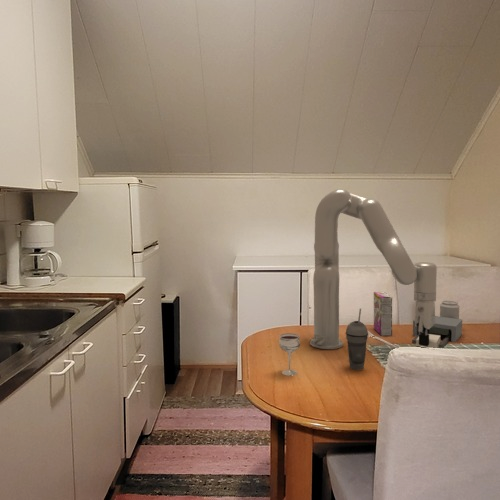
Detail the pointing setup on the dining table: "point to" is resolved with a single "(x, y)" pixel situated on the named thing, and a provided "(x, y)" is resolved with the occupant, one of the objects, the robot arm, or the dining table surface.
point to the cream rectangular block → (431, 341)
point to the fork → (381, 339)
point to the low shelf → (443, 329)
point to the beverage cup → (356, 343)
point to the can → (449, 309)
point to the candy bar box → (383, 313)
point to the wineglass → (289, 348)
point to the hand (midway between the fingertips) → (423, 344)
